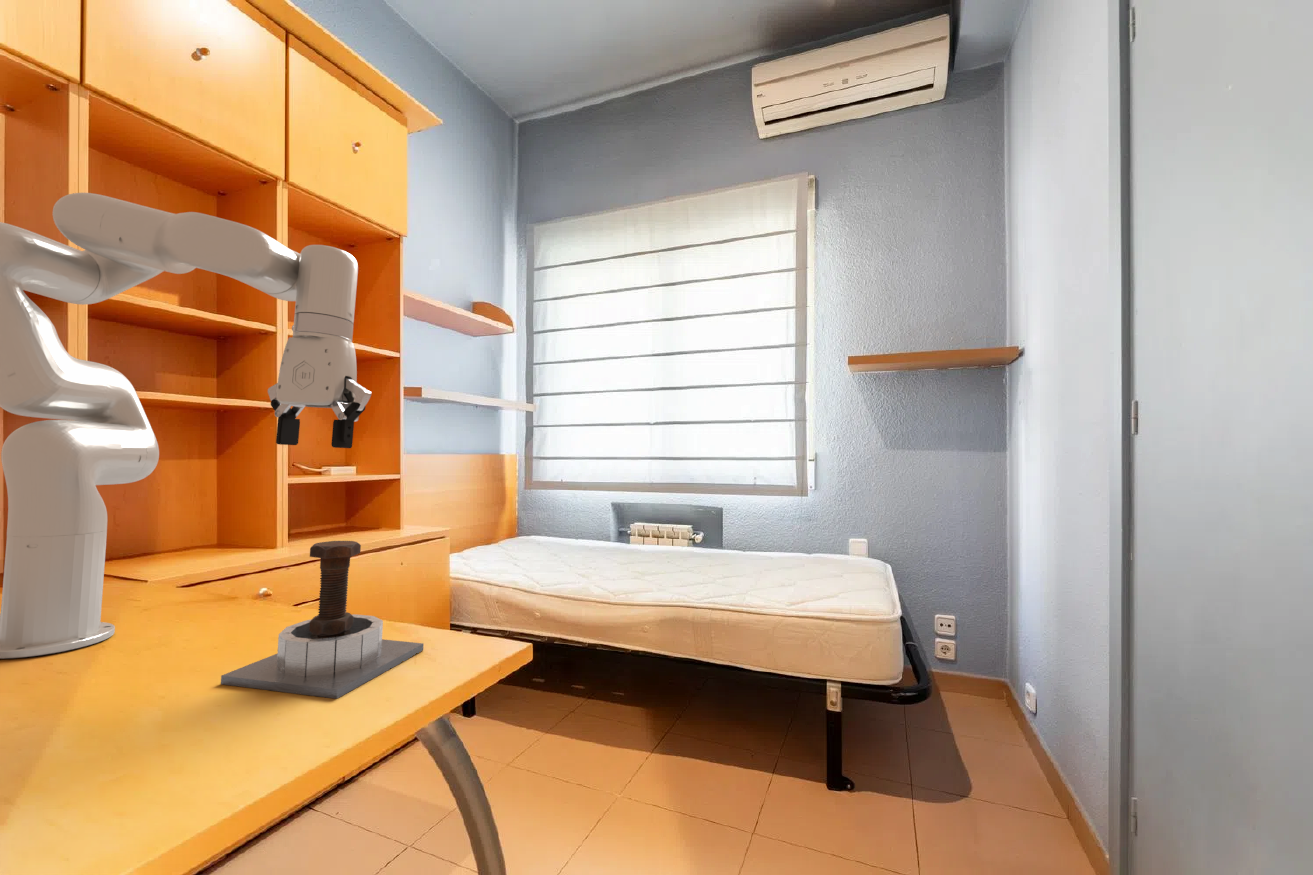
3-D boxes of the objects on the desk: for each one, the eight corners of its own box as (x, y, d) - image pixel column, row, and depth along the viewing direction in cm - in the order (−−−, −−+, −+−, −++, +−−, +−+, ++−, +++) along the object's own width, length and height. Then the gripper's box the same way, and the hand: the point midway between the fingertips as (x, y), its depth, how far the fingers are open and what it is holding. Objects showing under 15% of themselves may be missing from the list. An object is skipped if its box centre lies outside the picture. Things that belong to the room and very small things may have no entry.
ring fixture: (220, 683, 64) (223, 641, 64) (326, 640, 79) (328, 606, 80) (336, 698, 61) (339, 654, 61) (423, 650, 76) (424, 615, 77)
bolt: (296, 660, 69) (302, 543, 70) (332, 648, 74) (338, 539, 74) (326, 668, 67) (333, 547, 67) (362, 655, 71) (368, 542, 72)
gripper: (253, 325, 78) (242, 442, 77) (353, 325, 74) (343, 448, 73) (297, 337, 85) (288, 444, 84) (391, 338, 81) (382, 450, 80)
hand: (314, 446), depth 79 cm, fingers open, 9 cm apart
